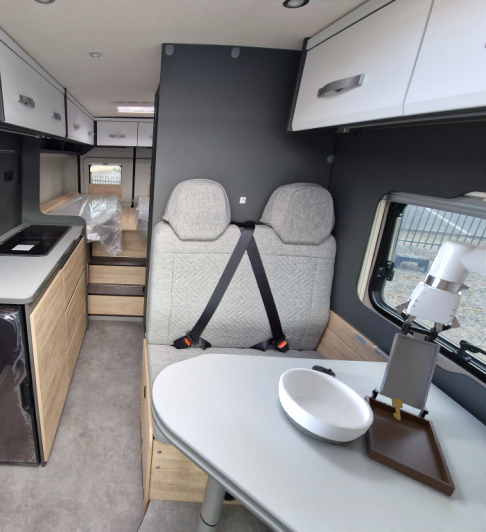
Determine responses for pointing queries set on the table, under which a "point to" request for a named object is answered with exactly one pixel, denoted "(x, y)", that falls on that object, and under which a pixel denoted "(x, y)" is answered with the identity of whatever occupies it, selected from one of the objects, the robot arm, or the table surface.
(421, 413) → the stand
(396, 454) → the tray
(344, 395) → the bowl
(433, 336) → the robot arm
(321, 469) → the table surface
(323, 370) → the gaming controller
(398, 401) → the key
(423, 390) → the shallow grey bin
